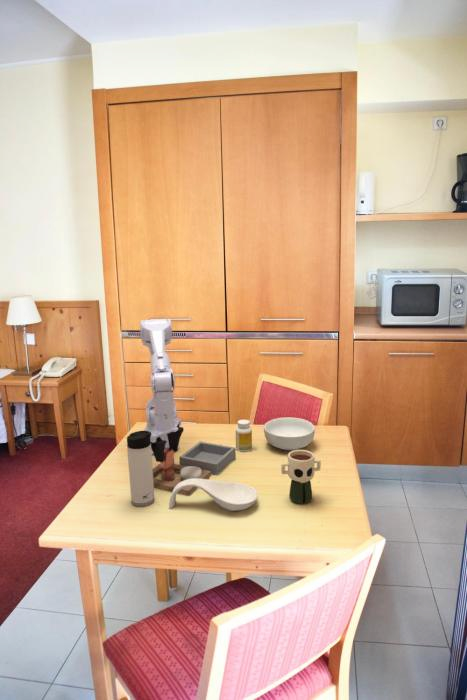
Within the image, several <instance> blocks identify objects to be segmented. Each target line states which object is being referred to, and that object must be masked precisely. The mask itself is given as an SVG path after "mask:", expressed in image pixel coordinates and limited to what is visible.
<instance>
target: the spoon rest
mask: <svg viewBox="0 0 467 700" xmlns="http://www.w3.org/2000/svg"><path fill="white" fill-rule="evenodd" d="M186 487H198V488H197V489H199V490H202V491H203V492H204V493H206V494H207V495H208V496H209V497H210V498H211V499H212V500H214V502H215V503H216V504H217V505H218V506H219V507H221V508H223V509H225V510H226V511H229V512H238V511H243V510H245V509H248V508H249V507H251V506H252V505H254V503H256V501H257V499H258V496H259V495H258V491H257V490H256V488H254V487H252V486H250V485H249V484H245V483H242V482H235V481H224V480H215V479H214V480H213V479H209V478H208V479H196V478H194V479H187V480H184V481H182V482H180V483H178V484H177V485H176V486H175V488H174V489H173V492H171V495H170V498H169V502H168V503H169V504H168V508H169V509H173V508H174V506H175V504H176V499H177V495H178V494H179V493H178V492H179V491H180V490H181V489H183V488H186Z"/></svg>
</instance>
